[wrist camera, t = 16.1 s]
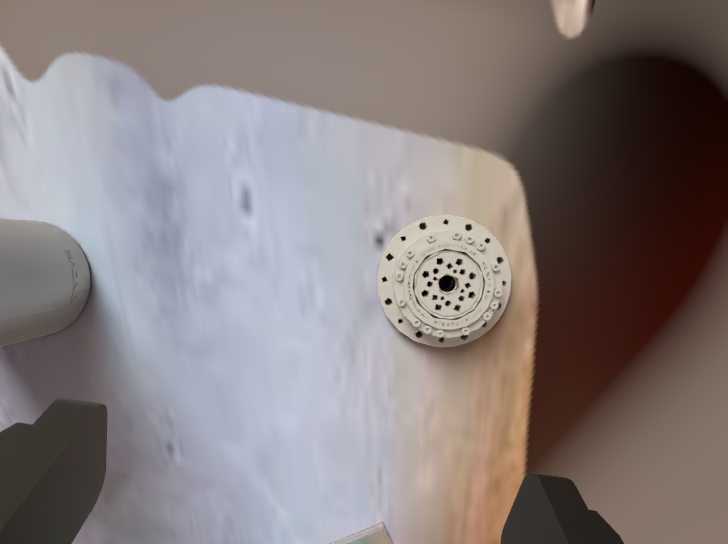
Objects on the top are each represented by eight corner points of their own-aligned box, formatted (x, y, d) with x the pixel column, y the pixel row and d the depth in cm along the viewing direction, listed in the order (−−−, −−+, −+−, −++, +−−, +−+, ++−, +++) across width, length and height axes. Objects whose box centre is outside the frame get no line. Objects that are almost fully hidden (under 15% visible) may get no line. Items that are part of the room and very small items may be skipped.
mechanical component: (356, 311, 39) (473, 364, 39) (352, 320, 35) (484, 380, 34) (409, 194, 38) (528, 247, 38) (412, 188, 34) (547, 248, 34)
